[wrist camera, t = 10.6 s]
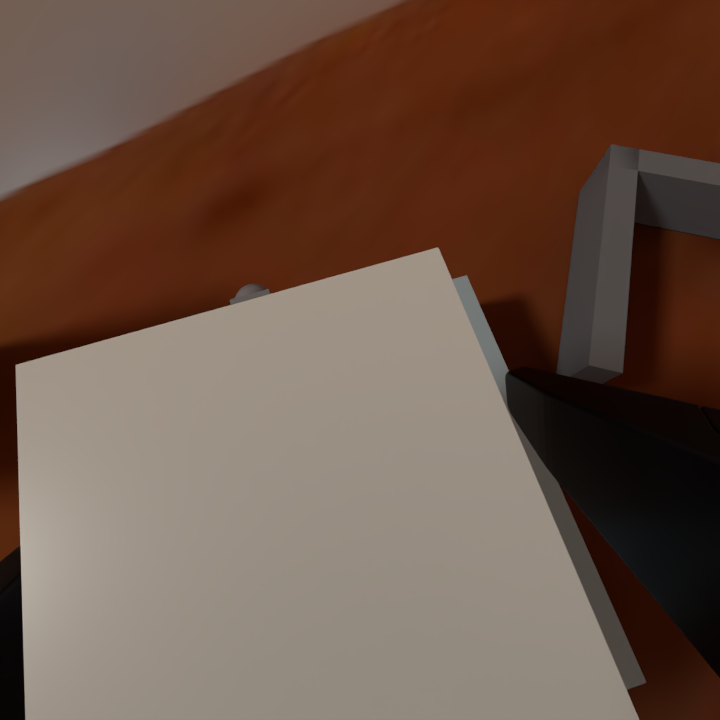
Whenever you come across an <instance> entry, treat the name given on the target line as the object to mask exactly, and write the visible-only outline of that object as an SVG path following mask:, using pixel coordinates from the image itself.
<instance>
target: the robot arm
mask: <svg viewBox="0 0 720 720" xmlns="http://www.w3.org/2000/svg"><path fill="white" fill-rule="evenodd" d="M505 384H506V396H507V405H508V409H509V411H510V413H511V415H512V416H513V418H514V419H515V421H516V422H517V424H518V426H519V427H520V429H521V430H522V432H523V433H524V435H525V436H526V438H527V439H528V441H529V442H530V444H531V445H532V447H533V449H534V450H535V452H536V453H537V455H538V456H539V458H540V459H541V461H542V462H543V464H544V465H545V466H546V468H547V469H548V470H549V472H550V473H551V474H552V475H553V477H554V478H555V479H556V480H557V482H558V483H559V484H560V485H561V486H562V488H563V489H564V490H565V491H566V492H567V494H568V495H569V496H570V497H571V498H572V500H573V501H574V502H575V503H576V504H577V506H578V507H579V508H580V509H581V511H582V512H583V513H584V514H585V515H586V517H587V518H588V519H589V520H590V521H591V523H592V524H593V525H594V526H595V527H596V529H597V530H598V531H599V532H600V534H601V535H602V536H603V537H604V538H605V540H606V541H607V542H608V543H609V544H610V546H611V547H612V548H613V549H614V550H615V552H616V553H617V554H618V555H619V557H620V558H621V559H622V560H623V561H624V563H625V564H626V565H627V566H628V567H629V569H630V570H631V571H632V572H633V573H634V575H635V576H636V577H637V578H638V579H639V581H640V582H641V583H642V584H643V586H644V587H645V588H646V589H647V590H648V592H649V593H650V594H651V595H652V596H653V598H654V599H655V600H656V601H657V602H658V604H659V605H660V606H661V607H662V609H663V610H664V611H665V612H666V613H667V615H668V616H669V617H670V618H671V619H672V621H673V622H674V623H675V624H676V625H677V627H678V628H679V629H680V630H681V631H682V633H683V634H684V635H685V636H686V638H687V639H688V640H689V641H690V642H691V644H692V645H693V646H694V647H695V648H696V650H697V651H698V652H699V653H700V654H701V656H702V657H703V658H704V659H705V661H706V662H707V663H708V664H709V665H710V667H711V668H712V669H713V670H714V671H715V673H716V674H717V675H718V676H719V677H720V410H718V409H714V408H710V407H705V406H703V407H701V408H700V407H699V406H698V405H696V404H691V403H687V402H682V401H678V400H673V399H668V398H664V397H659V396H655V395H650V394H646V393H641V392H637V391H632V390H628V389H623V388H619V387H614V386H610V385H605V384H601V383H596V382H592V381H587V380H583V379H578V378H574V377H569V376H565V375H560V374H556V373H551V372H547V371H542V370H538V369H533V368H529V367H520V368H517V369H514V370H510V371H508V372H507V373H506V375H505ZM0 720H25V690H24V654H23V618H22V582H21V545H20V546H19V547H18V548H16V549H15V550H14V551H13V552H12V553H10V554H9V555H8V556H7V557H5V558H4V559H3V560H2V561H1V562H0Z"/></svg>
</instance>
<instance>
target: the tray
mask: <svg viewBox="0 0 720 720" xmlns="http://www.w3.org/2000/svg"><path fill="white" fill-rule="evenodd" d="M452 281H453V283H454V286H455V288H456V290H457V293H458V295H459V297H460V300H461V302H462V304H463V307H464V309H465V311H466V314H467V316H468V319H469V321H470V323H471V326H472V328H473V330H474V333H475V335H476V337H477V340H478V342H479V344H480V347H481V349H482V351H483V354H484V356H485V358H486V361H487V363H488V366H489V368H490V370H491V373H492V375H493V377H494V380H495V382H496V384H497V387H498V389H499V391H500V394H501V396H502V398H503V401H504V403H505V405H506V408H507V410H508V412H509V415H510V417H511V420H512V422H513V424H514V427H515V429H516V431H517V434H518V436H519V438H520V441H521V443H522V445H523V448H524V450H525V452H526V455H527V457H528V459H529V462H530V464H531V466H532V469H533V471H534V474H535V476H536V478H537V481H538V483H539V485H540V488H541V490H542V492H543V495H544V497H545V499H546V502H547V504H548V506H549V509H550V511H551V513H552V516H553V518H554V521H555V523H556V525H557V528H558V530H559V532H560V535H561V537H562V539H563V542H564V544H565V546H566V549H567V551H568V553H569V556H570V558H571V560H572V563H573V565H574V567H575V570H576V572H577V575H578V577H579V579H580V582H581V584H582V586H583V589H584V591H585V593H586V596H587V598H588V600H589V603H590V605H591V607H592V610H593V612H594V614H595V617H596V619H597V622H598V624H599V626H600V629H601V631H602V633H603V636H604V638H605V640H606V643H607V645H608V647H609V650H610V652H611V654H612V657H613V659H614V661H615V664H616V666H617V668H618V671H619V673H620V676H621V678H622V680H623V683H624V685H625V687H626V690H628V689H630V688H633V687H636V686H638V685H641V684H644V683H647V682H646V680H645V678H644V676H643V673H642V671H641V669H640V667H639V664H638V662H637V660H636V658H635V655H634V653H633V651H632V649H631V646H630V644H629V642H628V639H627V637H626V635H625V633H624V630H623V628H622V626H621V624H620V621H619V619H618V617H617V615H616V612H615V610H614V608H613V606H612V603H611V601H610V599H609V597H608V594H607V592H606V590H605V587H604V585H603V583H602V581H601V578H600V576H599V574H598V572H597V569H596V567H595V565H594V563H593V560H592V558H591V556H590V554H589V551H588V549H587V547H586V544H585V542H584V540H583V538H582V535H581V533H580V531H579V529H578V526H577V524H576V522H575V520H574V517H573V515H572V513H571V511H570V508H569V506H568V504H567V501H566V499H565V497H564V495H563V492H562V490H561V488H560V486H559V483H558V482H557V480H556V479H555V478H554V477H553V475H552V474H551V473H550V472H549V470H548V469H547V468H546V466H545V465H544V464H543V462H542V461H541V459H540V458H539V456H538V455H537V453H536V452H535V450H534V449H533V447H532V445H531V444H530V442H529V441H528V439H527V438H526V436H525V435H524V433H523V432H522V430H521V429H520V427H519V426H518V424H517V422H516V421H515V419H514V418H513V416H512V415H511V413H510V411H509V409H508V405H507V396H506V384H505V375H506V373H507V372H508V371H509V370H508V368H507V366H506V363H505V361H504V359H503V357H502V354H501V352H500V350H499V348H498V345H497V343H496V341H495V339H494V336H493V334H492V332H491V330H490V327H489V325H488V323H487V320H486V318H485V316H484V314H483V311H482V309H481V307H480V305H479V302H478V300H477V298H476V296H475V293H474V291H473V289H472V287H471V284H470V282H469V280H468V277H467V275H466V276H463V277H459V278H456V279H452Z"/></svg>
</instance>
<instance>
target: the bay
mask: <svg viewBox="0 0 720 720" xmlns="http://www.w3.org/2000/svg"><path fill="white" fill-rule="evenodd" d="M634 223H639V224H644V225H649V226H654V227H660V228H665V229H670V230H675V231H680V232H685V233H690V234H695V235H700V236H705V237H711V238H716V239H720V164H719V163H713V162H708V161H702V160H697V159H691V158H685V157H680V156H674V155H668V154H663V153H657V152H651V151H646V150H640V149H634V148H629V147H623V146H617V145H612V144H611V145H610V147H609V148H608V150H607V152H606V153H605V155H604V156H603V158H602V159H601V161H600V162H599V164H598V165H597V167H596V168H595V170H594V171H593V173H592V174H591V176H590V177H589V179H588V180H587V182H586V183H585V185H584V186H583V188H582V189H581V191H580V192H579V199H578V207H577V214H576V222H575V230H574V238H573V246H572V254H571V262H570V270H569V277H568V285H567V293H566V301H565V309H564V317H563V325H562V332H561V340H560V348H559V356H558V364H557V372H556V374H560V375H565V376H569V377H574V378H578V379H583V380H587V381H592V382H596V383H601V384H603V383H605V382H607V381H609V380H611V379H613V378H615V377H616V376H618V375H620V374H622V373H623V365H624V351H625V338H626V324H627V311H628V297H629V284H630V270H631V257H632V243H633V230H634Z"/></svg>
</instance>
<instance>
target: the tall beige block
mask: <svg viewBox="0 0 720 720" xmlns="http://www.w3.org/2000/svg"><path fill="white" fill-rule="evenodd" d="M230 304H231V305H229V306H226V307H222V308H218V309H215V310H211V311H208V312H204V313H200V314H197V315H193V316H190V317H186V318H182V319H179V320H175V321H172V322H168V323H164V324H161V325H157V326H154V327H150V328H146V329H143V330H139V331H136V332H132V333H128V334H125V335H121V336H118V337H114V338H110V339H107V340H103V341H100V342H96V343H92V344H89V345H85V346H82V347H78V348H74V349H71V350H67V351H64V352H60V353H56V354H53V355H49V356H46V357H42V358H38V359H35V360H31V361H28V362H24V363H20V364H17V365H16V400H17V436H18V473H19V509H20V545H21V582H22V618H23V654H24V690H25V720H639V718H638V715H637V713H636V711H635V708H634V706H633V704H632V701H631V699H630V697H629V694H628V692H627V690H626V687H625V685H624V683H623V680H622V678H621V676H620V673H619V671H618V668H617V666H616V664H615V661H614V659H613V657H612V654H611V652H610V650H609V647H608V645H607V643H606V640H605V638H604V636H603V633H602V631H601V629H600V626H599V624H598V622H597V619H596V617H595V614H594V612H593V610H592V607H591V605H590V603H589V600H588V598H587V596H586V593H585V591H584V589H583V586H582V584H581V582H580V579H579V577H578V575H577V572H576V570H575V567H574V565H573V563H572V560H571V558H570V556H569V553H568V551H567V549H566V546H565V544H564V542H563V539H562V537H561V535H560V532H559V530H558V528H557V525H556V523H555V521H554V518H553V516H552V513H551V511H550V509H549V506H548V504H547V502H546V499H545V497H544V495H543V492H542V490H541V488H540V485H539V483H538V481H537V478H536V476H535V474H534V471H533V469H532V466H531V464H530V462H529V459H528V457H527V455H526V452H525V450H524V448H523V445H522V443H521V441H520V438H519V436H518V434H517V431H516V429H515V427H514V424H513V422H512V420H511V417H510V415H509V412H508V410H507V408H506V405H505V403H504V401H503V398H502V396H501V394H500V391H499V389H498V387H497V384H496V382H495V380H494V377H493V375H492V373H491V370H490V368H489V366H488V363H487V361H486V358H485V356H484V354H483V351H482V349H481V347H480V344H479V342H478V340H477V337H476V335H475V333H474V330H473V328H472V326H471V323H470V321H469V319H468V316H467V314H466V311H465V309H464V307H463V304H462V302H461V300H460V297H459V295H458V293H457V290H456V288H455V286H454V283H453V281H452V279H451V276H450V274H449V272H448V269H447V267H446V265H445V262H444V260H443V257H442V255H441V253H440V250H439V248H434V249H431V250H427V251H424V252H420V253H416V254H413V255H409V256H406V257H402V258H398V259H395V260H391V261H388V262H384V263H380V264H377V265H373V266H370V267H366V268H362V269H359V270H355V271H352V272H348V273H344V274H341V275H337V276H334V277H330V278H326V279H323V280H319V281H316V282H312V283H308V284H305V285H301V286H298V287H294V288H290V289H287V290H283V291H280V292H276V293H272V294H271V293H270V290H269V289H267V288H265V287H263V286H262V285H259V284H249V285H246V286H244V287H242V288H241V289H240V290H239V291H238V293H237V294H236V297H235V298H234V299H230Z"/></svg>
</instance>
